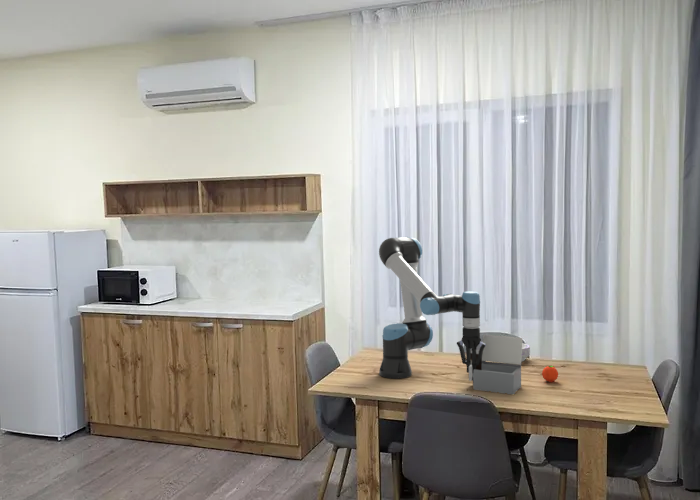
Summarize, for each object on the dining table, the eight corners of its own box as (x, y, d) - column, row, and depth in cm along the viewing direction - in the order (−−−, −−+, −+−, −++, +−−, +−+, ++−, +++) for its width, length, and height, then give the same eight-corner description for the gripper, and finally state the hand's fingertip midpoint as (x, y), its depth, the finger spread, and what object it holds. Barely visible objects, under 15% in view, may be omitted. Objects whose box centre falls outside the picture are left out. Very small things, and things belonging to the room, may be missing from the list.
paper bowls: (533, 363, 310) (533, 347, 310) (503, 363, 310) (503, 348, 310) (525, 356, 325) (525, 341, 325) (496, 356, 326) (496, 341, 325)
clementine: (547, 378, 283) (547, 362, 282) (562, 380, 278) (562, 365, 278) (539, 381, 277) (539, 365, 277) (553, 384, 272) (553, 368, 272)
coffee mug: (487, 375, 289) (487, 354, 288) (468, 374, 291) (468, 353, 290) (486, 369, 300) (486, 348, 300) (468, 368, 302) (468, 348, 301)
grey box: (473, 389, 266) (473, 367, 265) (482, 381, 278) (482, 360, 277) (513, 394, 258) (513, 371, 257) (521, 386, 270) (521, 364, 269)
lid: (483, 334, 277) (484, 334, 279) (481, 360, 276) (482, 360, 278) (521, 338, 269) (522, 337, 271) (520, 364, 268) (521, 364, 270)
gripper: (454, 327, 272) (454, 380, 273) (483, 329, 265) (483, 383, 267) (459, 324, 278) (459, 376, 279) (488, 326, 272) (488, 379, 273)
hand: (471, 380), depth 273 cm, fingers closed
